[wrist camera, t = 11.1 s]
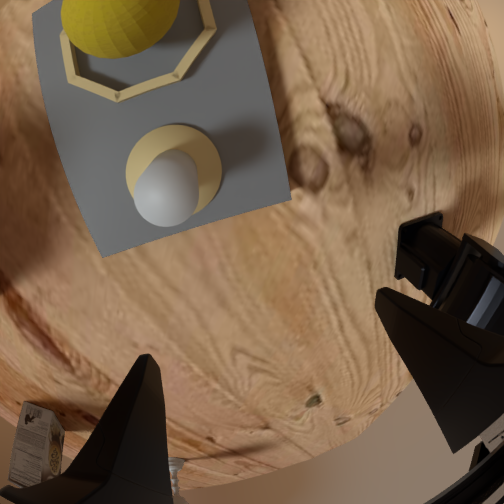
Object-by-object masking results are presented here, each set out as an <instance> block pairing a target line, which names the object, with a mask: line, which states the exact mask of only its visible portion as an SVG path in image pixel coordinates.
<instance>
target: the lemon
mask: <svg viewBox="0 0 504 504" xmlns="http://www.w3.org/2000/svg"><path fill="white" fill-rule="evenodd" d="M179 4H180V0H63V2H62V8H61V21H62V26H63V29H64V31H65V33H66V34H67V36H68V38H69V40H70V41H71V42H72V43H73V44H74V45H75V46H76V47H78V48H79V49H80V50H81V51H83V52H84V53H87V54H90V55H92V56H95V57H98V58H108V59H117V58H124V57H129V56H132V55H135V54H138V53H141V52H142V51H144V50H146V49H148V48H150V47H152V46H153V45H154V44H155V43H157V42H158V41H159V40H160V39H162V37H163V36H164V35H165V34H166V33H167V31H168V30H169V29H170V28H171V26H172V24H173V22H174V20H175V19H176V17H177V13H178V9H179Z"/></svg>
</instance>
